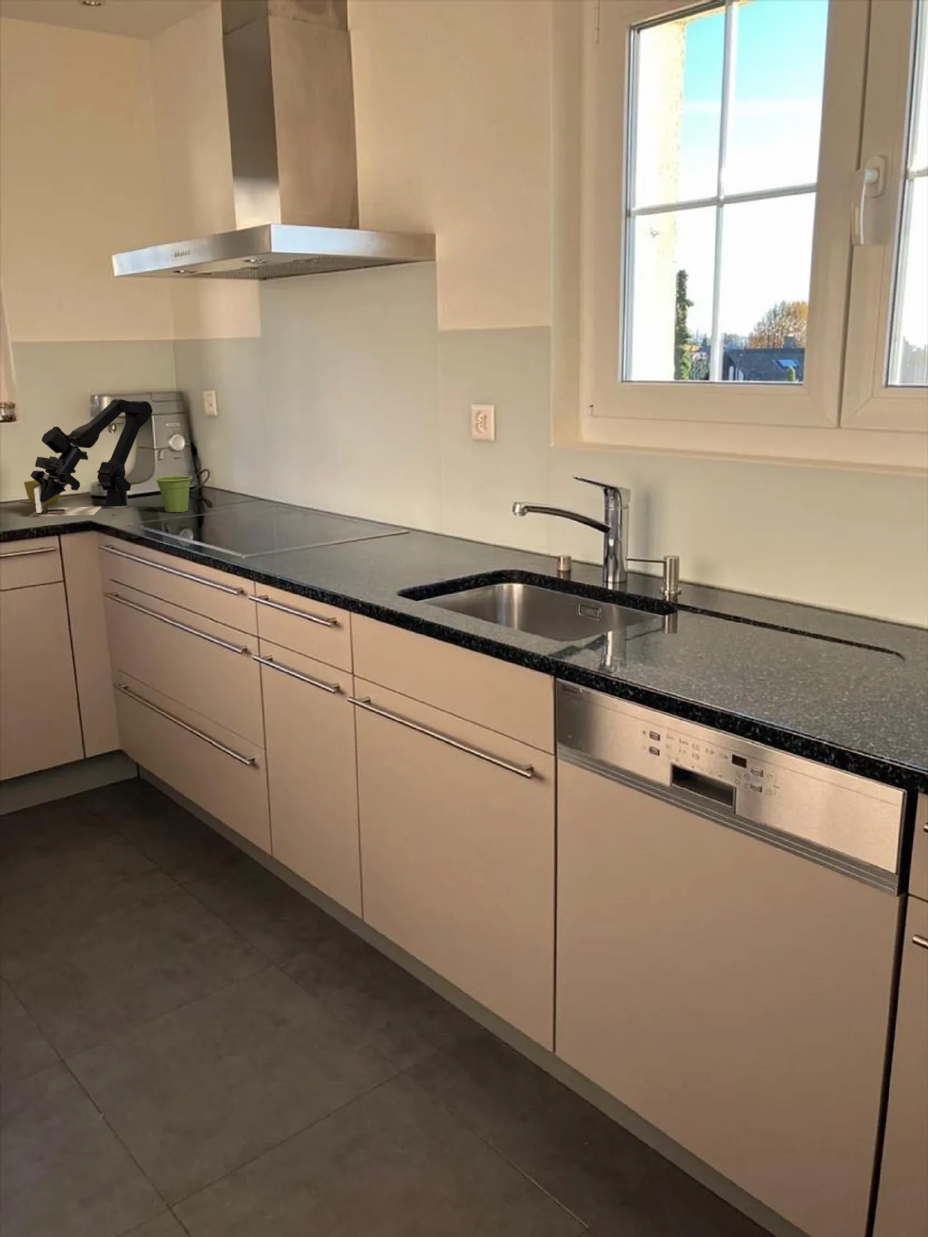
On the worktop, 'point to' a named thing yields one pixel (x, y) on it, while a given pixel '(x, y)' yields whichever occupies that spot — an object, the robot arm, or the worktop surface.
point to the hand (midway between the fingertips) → (41, 501)
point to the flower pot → (30, 492)
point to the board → (69, 511)
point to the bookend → (40, 505)
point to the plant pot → (175, 492)
